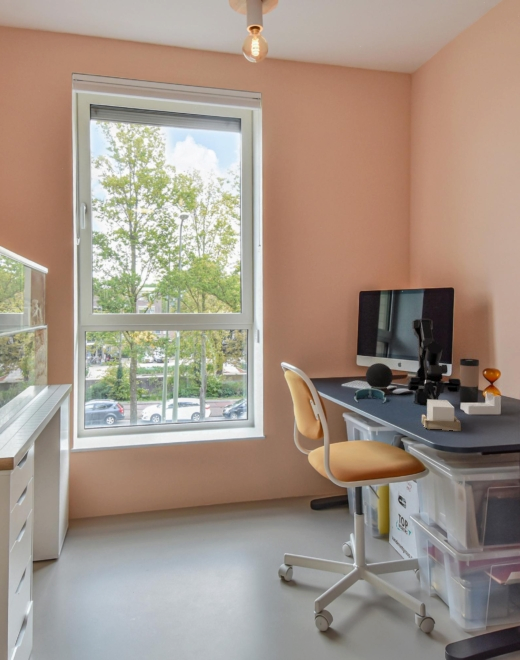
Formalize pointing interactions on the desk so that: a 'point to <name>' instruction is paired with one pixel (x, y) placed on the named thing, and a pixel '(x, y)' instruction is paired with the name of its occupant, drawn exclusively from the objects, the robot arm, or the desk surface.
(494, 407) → the bracket
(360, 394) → the sunglasses
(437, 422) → the birch slot
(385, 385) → the black ball on stand
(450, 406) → the white cardboard box
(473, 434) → the desk surface
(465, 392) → the travel mug
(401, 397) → the desk surface
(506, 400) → the desk surface
